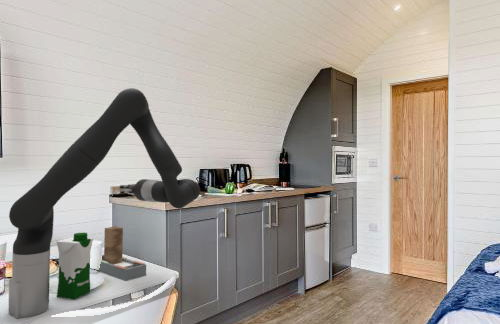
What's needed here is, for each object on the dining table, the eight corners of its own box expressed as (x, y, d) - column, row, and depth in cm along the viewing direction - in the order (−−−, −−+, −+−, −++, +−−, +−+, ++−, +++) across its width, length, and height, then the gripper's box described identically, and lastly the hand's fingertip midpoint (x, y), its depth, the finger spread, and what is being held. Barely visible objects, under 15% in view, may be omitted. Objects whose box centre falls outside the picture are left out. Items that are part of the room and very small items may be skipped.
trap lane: (125, 281, 128) (125, 269, 128) (88, 267, 144) (88, 257, 144) (146, 275, 136) (146, 263, 136) (108, 263, 151) (109, 253, 151)
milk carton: (75, 301, 109) (76, 236, 109) (51, 297, 111) (53, 234, 111) (94, 291, 117) (96, 231, 117) (72, 288, 120) (73, 230, 120)
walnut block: (110, 265, 138) (111, 229, 138) (104, 262, 141) (104, 228, 141) (122, 262, 142) (122, 227, 142) (115, 260, 145) (115, 226, 145)
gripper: (166, 179, 125) (136, 177, 136) (134, 180, 115) (105, 178, 125) (165, 200, 125) (136, 197, 135) (134, 203, 115) (104, 199, 125)
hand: (121, 188), depth 130 cm, fingers closed
